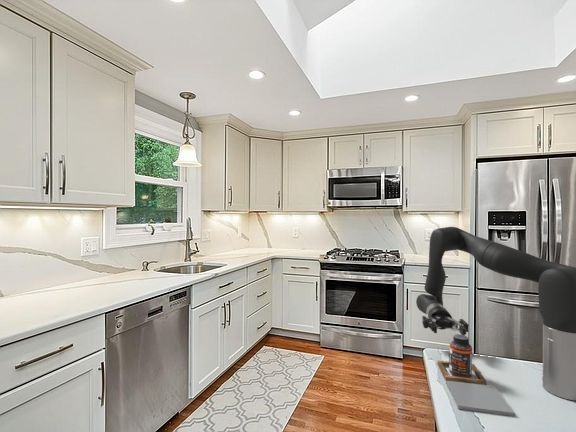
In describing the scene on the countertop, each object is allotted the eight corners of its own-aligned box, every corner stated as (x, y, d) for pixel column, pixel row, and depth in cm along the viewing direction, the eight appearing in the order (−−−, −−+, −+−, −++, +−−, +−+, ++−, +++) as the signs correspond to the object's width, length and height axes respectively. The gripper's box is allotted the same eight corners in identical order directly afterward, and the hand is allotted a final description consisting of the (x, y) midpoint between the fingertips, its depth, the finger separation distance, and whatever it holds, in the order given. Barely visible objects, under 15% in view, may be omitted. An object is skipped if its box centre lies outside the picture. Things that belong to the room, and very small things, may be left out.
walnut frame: (473, 368, 98) (473, 364, 98) (486, 385, 88) (486, 381, 88) (437, 364, 101) (437, 360, 101) (445, 381, 90) (445, 376, 90)
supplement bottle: (448, 376, 93) (449, 337, 93) (449, 367, 98) (449, 331, 98) (472, 381, 90) (472, 341, 90) (471, 372, 95) (471, 334, 95)
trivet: (493, 388, 86) (493, 385, 86) (514, 416, 75) (514, 412, 75) (445, 383, 89) (445, 380, 89) (458, 408, 77) (458, 405, 77)
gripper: (418, 304, 123) (426, 318, 107) (459, 307, 119) (473, 322, 104) (418, 323, 123) (426, 340, 107) (458, 327, 119) (473, 345, 104)
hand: (449, 331), depth 105 cm, fingers open, 8 cm apart
